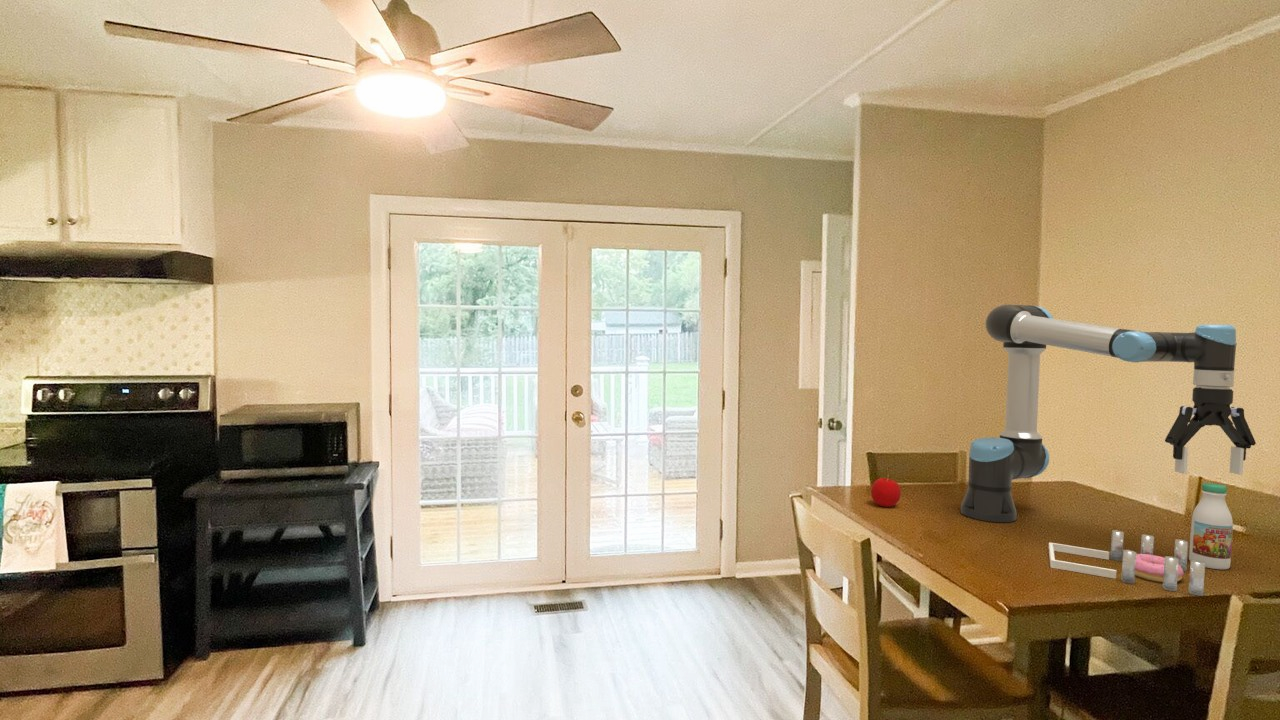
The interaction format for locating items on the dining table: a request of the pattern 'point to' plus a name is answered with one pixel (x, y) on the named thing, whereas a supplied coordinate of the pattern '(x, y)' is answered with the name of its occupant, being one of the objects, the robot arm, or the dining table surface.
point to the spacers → (1169, 563)
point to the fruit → (885, 492)
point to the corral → (1080, 567)
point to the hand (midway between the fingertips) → (1208, 473)
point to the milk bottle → (1212, 529)
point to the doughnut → (1152, 567)
